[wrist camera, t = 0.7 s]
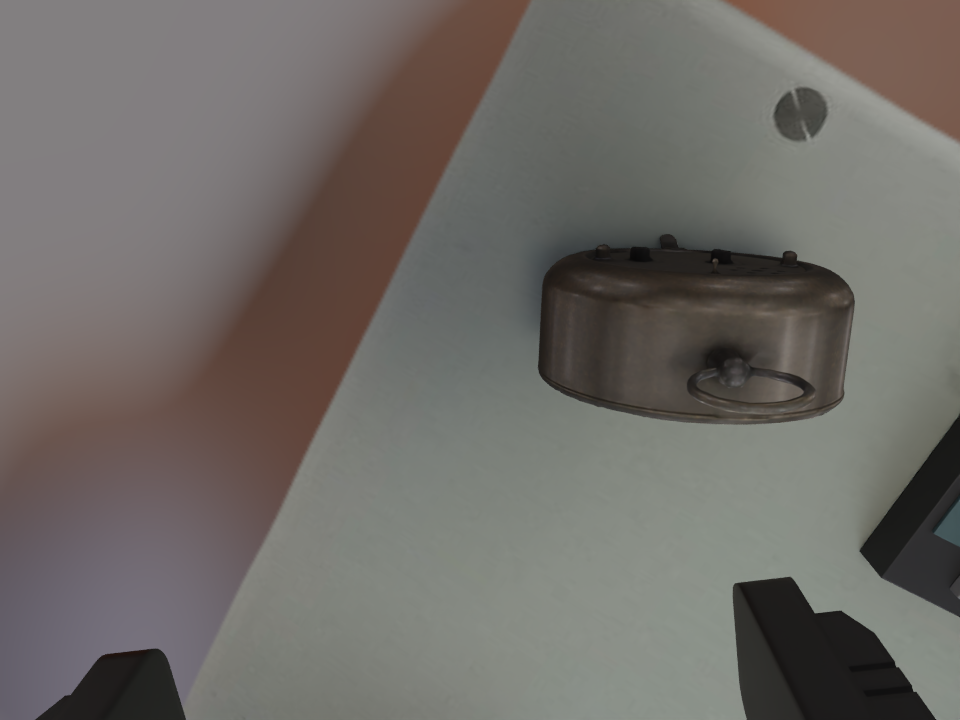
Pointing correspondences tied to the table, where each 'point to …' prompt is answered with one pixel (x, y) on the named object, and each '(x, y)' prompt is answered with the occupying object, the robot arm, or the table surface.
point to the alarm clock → (696, 334)
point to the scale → (925, 531)
